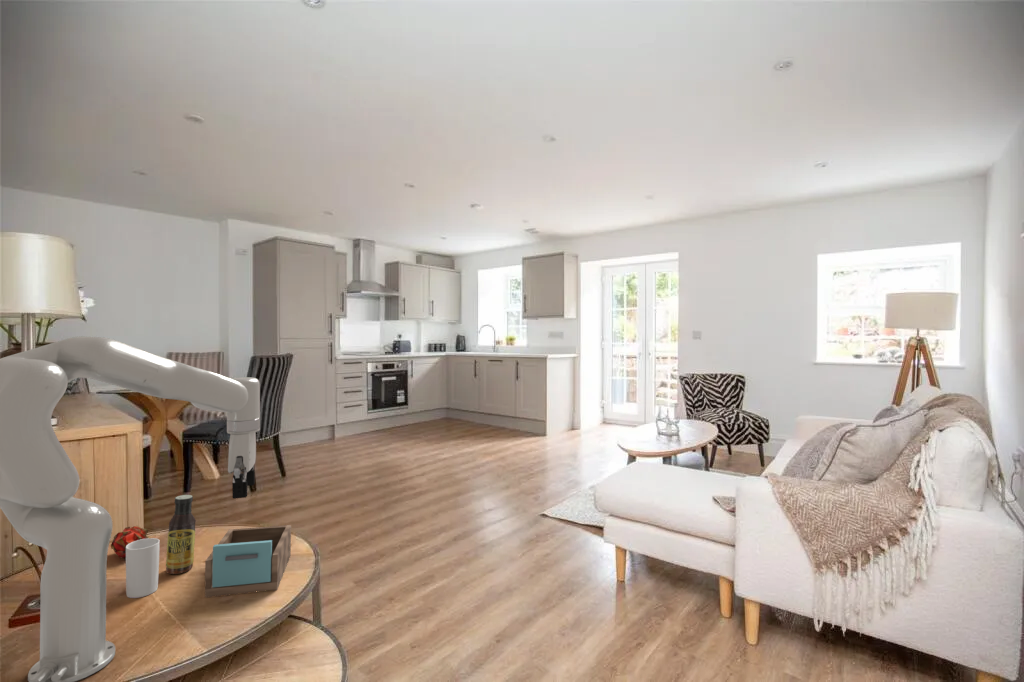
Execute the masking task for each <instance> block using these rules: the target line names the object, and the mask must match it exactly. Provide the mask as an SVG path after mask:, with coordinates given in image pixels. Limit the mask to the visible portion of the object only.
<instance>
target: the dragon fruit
mask: <svg viewBox="0 0 1024 682" xmlns="http://www.w3.org/2000/svg"><path fill="white" fill-rule="evenodd" d="M148 531H149V530H148V529H147V528H143V527H141V526H140V525H134V526H127V527H125V528H124V529H123V530H122V531H120V532H118V533H116V534H115V535H114V536H113V539H112V542H111V544H110V549H111V550H113V551H114V554H115V555H116V556H118V557H119V559H120V560H122V561H126V546H127V545H128V544H129V543H131V542H134V541H137V540H141V539H146V538H150V537H148V536H147V533H148Z"/></svg>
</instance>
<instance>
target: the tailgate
mask: <svg viewBox="0 0 1024 682" xmlns="http://www.w3.org/2000/svg"><path fill="white" fill-rule="evenodd" d="M212 551H213V578H212V587H222V586H232V585H242V584H252V583H262V582H270V581H271V573H272V540H268V541H255V542H243V543H230V544H213V546H212Z"/></svg>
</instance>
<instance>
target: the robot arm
mask: <svg viewBox="0 0 1024 682" xmlns="http://www.w3.org/2000/svg"><path fill="white" fill-rule="evenodd" d="M79 378H80V379H90V380H95V381H97V382H102V383H104V384H108V385H112V386H115V387H119V388H123V389H126V390H130V391H133V392H137V393H140V394H143V395H147V396H151V397H156V398H161V399H165V400H166V399H168V400H178V401H185V402H189V403H190V404H192V406H194V407H195V408H197V409H199V410H203V411H210V412H219V413H220V412H221V413H226V433H227V434H229V435H230V436H229V443H228V459H227V463H228V464H227V473H228V474H232V473H233V475H232V499H244V498H245V499H246V498H247V497H248V487H249V486H251V487H252V486H254V485H255V481H256V480H255V478H256V477H255V464H256V458H257V444H256V442H257V439H256V436H257V435H256V433H257V432H259V431H260V430H261V411H260V410H261V401H260V400H261V388H260V387H261V385H260V384H261V383H260V380H259V379H258V378H256V377H250V376H249V377H248V376H247V377H245V376H244V377H243V376H241V377H233V378H230V377H228V376H224V375H222V374H219V373H215V372H212V371H211V370H210V371H209V370H205V369H202V368H199V367H196V366H192V365H188V364H186V363H184V362H180V361H176V360H173V359H169V358H166V357H165V356H161V355H158V354H155V353H152V352H149V351H146V350H144V349H140V348H138V347H136V346H133V345H130V344H127V343H124V342H121V341H119V340H116V339H114V338H110V337H104V336H83V335H82V336H73V337H69V338H65V339H62V340H58V341H55V342H51V343H49V344H48V343H47V344H45V345H42V346H39V347H38V346H37V347H35V348H31V349H28V350H25V351H21V352H18V353H15V354H11V355H7V356H5V357H1V358H0V510H1V511H2V512H3V514H4V516H5V517H6V518H7V521H8V522H9V523H10V524H11V526H12V528H13V529H14V530H15V531H16V532H17V533H18V535H19V536H20V537H21V538H22V539H24V541H27V542H28V543H30V544H32V545H35V546H38V547H41V548H43V549H45V550H46V558H45V560H44V561H45V562H44V565H43V568H42V571H41V576H40V589H39V591H40V592H39V593H40V600H39V601H40V604H39V606H40V609H39V610H40V614H39V617H40V618H39V619H40V620H39V623H40V625H39V626H40V627H39V660H38V661H37V662H36V663H34V665H32V667H31V668H30V669H29V671H28V674H27V681H28V682H79V681H80V680H81V681H82V680H83V679H85V678H88V677H90V676H92V675H93V674H96V673H97V672H98V671H100V670H102V669H103V668H104V667H106V666H107V665H108V664H109V663H111V661H112V660H113V659H114V657H115V656H116V645H115V644H114V642H112V641H109V640H107V638H106V637H107V636H106V635H107V634H106V633H107V632H106V631H107V561H108V551H109V548H110V547H109V545H110V541H111V539H112V533H113V519H112V515H110V513H109V511H108V510H107V509H106V508H105V507H103V506H102V505H100V504H99V503H95V502H93V501H90V500H87V499H84V498H83V499H82V498H77V497H74V496H75V495H76V493H77V491H78V489H79V487H80V475H79V472H78V469H77V468H76V466H75V464H74V463H73V462H72V460H71V458H70V457H69V455H68V453H67V451H66V450H65V448H64V447H63V446H62V444H61V442H60V440H59V438H58V437H57V435H56V432H55V431H54V428H53V426H52V416H53V412H54V410H55V407H57V405H58V403H59V401H60V400H61V399H62V398H63V396H64V395H65V392H66V390H67V388H68V384H69V382H71V381H74V380H77V379H79Z"/></svg>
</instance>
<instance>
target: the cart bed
mask: <svg viewBox="0 0 1024 682" xmlns="http://www.w3.org/2000/svg"><path fill="white" fill-rule="evenodd" d="M268 540H272V573H271V581H270V582H262V583H252V584H242V585H232V586H222V587H212V578H213V550H212V551H211V553H210V554H209V556H207V558H206V559H205V561H204V562H205V565H204V569H205V571H204V574H205V575H204V598H205V597H206V598H213V597H212V596H215V597H221V595H225V596H230V595H229V594H235V595H239V594H238V593H244V594H249V593H248V592H254V593H259V592H258V591H264V592H266V591H265V590H273V591H278V589H279V586H280V584H281V582H280V581H282V579H283V576H284V574H285V571H286V568H287V567H288V566H287V565H288V564H289V561H290V559H289V558H291V553H292V552H291V551H292V548H291V547H292V545H291V544H292V543H291V542H292V524H287V525H286V524H285V525H274V526H260V527H259V526H257V527H245V528H244V527H243V528H232V529H231V528H230V529H228V530H227V531H226V532H225V534H224V536H222V538H221V540H220V541H219V542H218V544H230V543H243V542H255V541H268ZM287 563H288V564H287ZM283 573H284V574H283ZM256 591H257V592H256Z"/></svg>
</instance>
